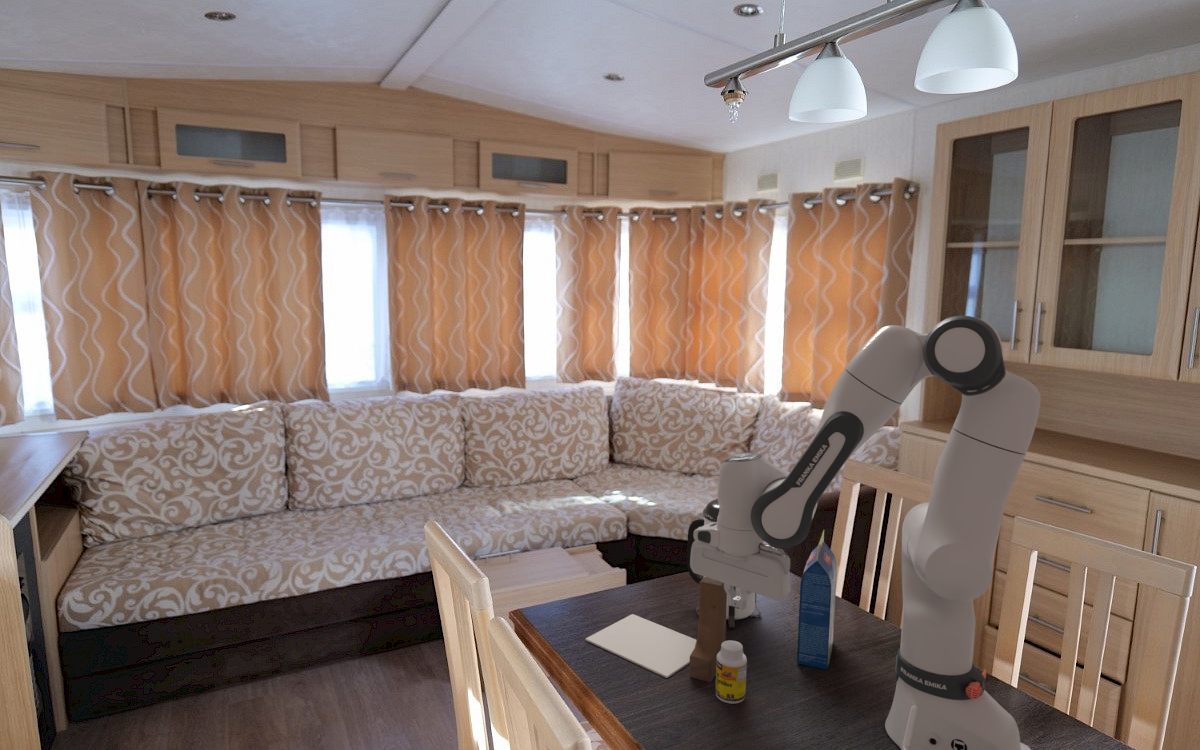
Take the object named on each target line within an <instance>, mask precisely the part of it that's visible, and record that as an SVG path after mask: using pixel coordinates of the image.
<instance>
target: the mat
mask: <svg viewBox="0 0 1200 750" xmlns="http://www.w3.org/2000/svg"><path fill="white" fill-rule="evenodd" d="M584 640H585V641H586V642H588V643H590V644H592V645H594V646H597V647H599V648H601V649H603V650H606V651H608V652H610V653H612V654H613V655H616V656H618V657H620V658H623V659H625V660H626V661H629V662H631V663H634V664H635V665H637V666H640V667H641V668H644V669H646V670H648V671H651V672H653V673H655V674H656V675H659V676H662V677H664V678H666V679H668V678H669V677H671V676H672V675H674V674H676V673H677V672H679V671H680V670H682V669H684V668H685V667H686V666H688V665H690V655H691V653H692V652H693V650H694V648H695V645H696V641H697V639H696V638H693V637H691V636H688V635H687V634H686V635H685V634H684V633H683V634H682V633H681V632H678V631H676V630H673V629H671V628H668V627H665V626H663V625H660V624H658V623H656V622H654V621H651V620H649V619H645V618H644V617H641V616H639V615H636V614H634V613H632V614H629V615H627V616H625V617H624V618H622V619H620V620H618V621H616V622H614V623H613V624H610V625H608V626H607V627H605V628H603V629H601V630H599V631H597V632H595V633H593V634H591V635H589V636H587V637H586V638H585V639H584Z"/></svg>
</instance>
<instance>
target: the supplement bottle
mask: <svg viewBox="0 0 1200 750" xmlns="http://www.w3.org/2000/svg"><path fill="white" fill-rule="evenodd" d="M743 646H744V645H743V644H742V643H741V642H739V641H736V640H731V639H730V640H725V641H724V642H723V643H722V644H721V651H719V652H718V654H717V658H716V675H715V696H716V697H717V698H718V700H720V701H721V702H722V703H723V702H724V703H727V704H733V705H734V704H739V703H742V702H743V701H744V700H745V698H746V693H747V692H746V690H747V688H746V687H747V666H748V659H747V656H746V654H744V648H743Z"/></svg>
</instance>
